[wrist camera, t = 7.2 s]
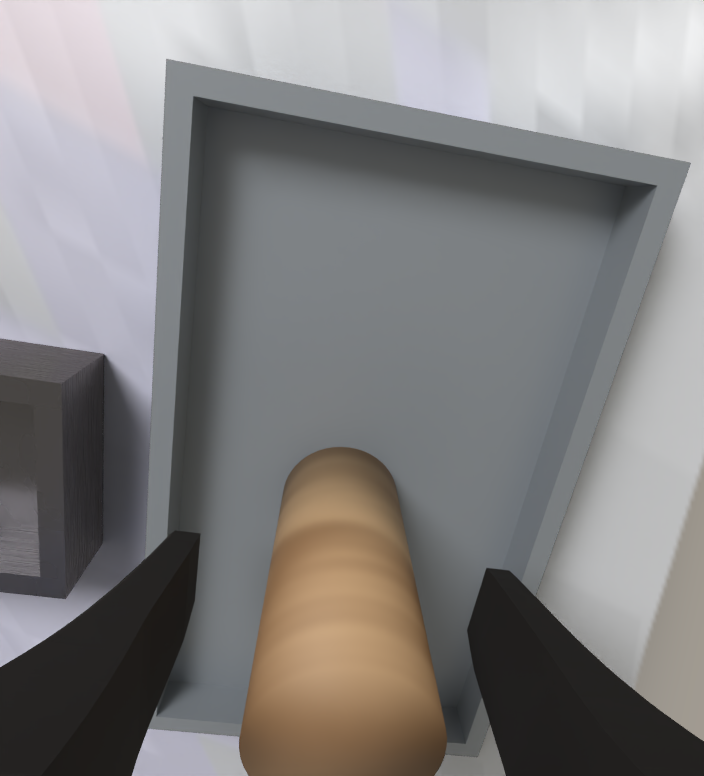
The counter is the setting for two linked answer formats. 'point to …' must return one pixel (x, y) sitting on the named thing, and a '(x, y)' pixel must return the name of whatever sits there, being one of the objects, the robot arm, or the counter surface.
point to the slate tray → (379, 346)
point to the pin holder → (49, 466)
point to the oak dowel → (341, 634)
